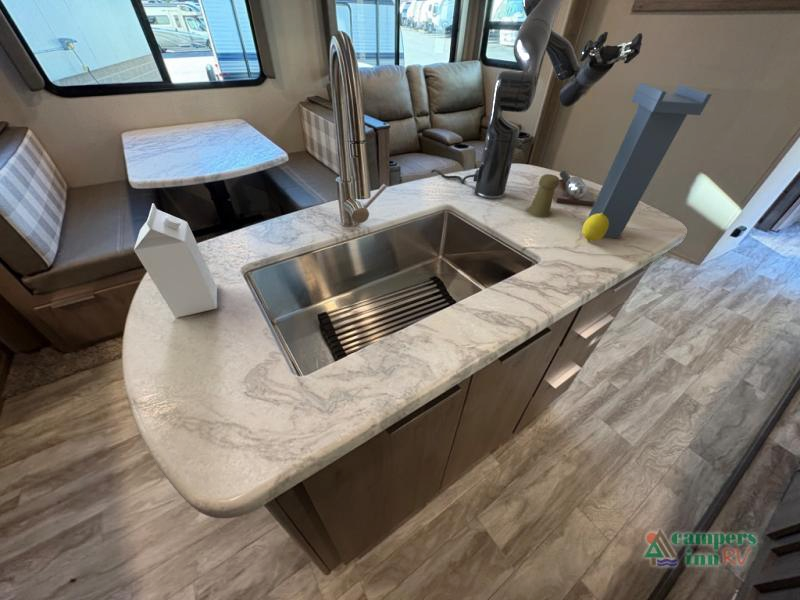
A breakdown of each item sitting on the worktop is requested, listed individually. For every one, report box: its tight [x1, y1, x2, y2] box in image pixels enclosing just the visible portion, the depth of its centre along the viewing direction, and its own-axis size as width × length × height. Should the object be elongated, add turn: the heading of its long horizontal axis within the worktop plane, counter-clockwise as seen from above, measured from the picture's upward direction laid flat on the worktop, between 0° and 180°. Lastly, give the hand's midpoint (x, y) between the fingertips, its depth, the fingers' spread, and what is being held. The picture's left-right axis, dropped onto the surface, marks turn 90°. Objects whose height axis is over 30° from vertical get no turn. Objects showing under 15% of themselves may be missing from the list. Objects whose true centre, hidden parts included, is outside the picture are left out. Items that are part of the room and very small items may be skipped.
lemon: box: [581, 213, 609, 242], centre depth 82 cm, size 6×6×8 cm
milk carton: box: [133, 203, 218, 319], centre depth 57 cm, size 7×7×19 cm
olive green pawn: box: [528, 173, 560, 218], centre depth 93 cm, size 6×6×11 cm
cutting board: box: [553, 178, 595, 207], centre depth 108 cm, size 17×11×2 cm, turn 170°
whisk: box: [559, 170, 589, 199], centre depth 106 cm, size 21×5×5 cm, turn 171°
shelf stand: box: [587, 82, 712, 239], centre depth 78 cm, size 12×9×34 cm
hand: (622, 36), depth 85 cm, fingers open, 8 cm apart
